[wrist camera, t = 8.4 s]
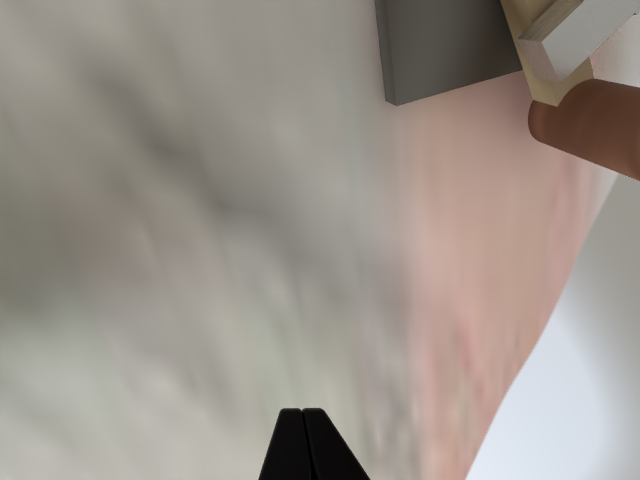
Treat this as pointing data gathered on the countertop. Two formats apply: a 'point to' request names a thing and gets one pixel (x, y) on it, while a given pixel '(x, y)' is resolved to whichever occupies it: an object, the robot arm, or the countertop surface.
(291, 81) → the countertop surface
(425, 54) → the base plate
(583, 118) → the link
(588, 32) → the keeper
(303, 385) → the countertop surface
